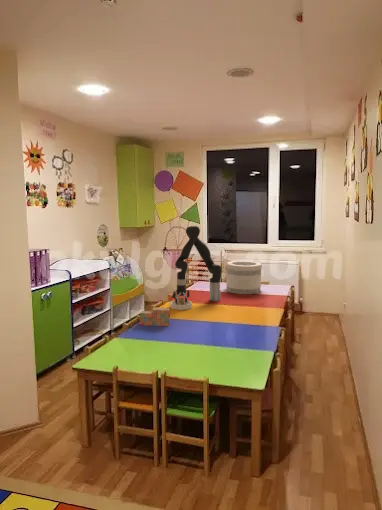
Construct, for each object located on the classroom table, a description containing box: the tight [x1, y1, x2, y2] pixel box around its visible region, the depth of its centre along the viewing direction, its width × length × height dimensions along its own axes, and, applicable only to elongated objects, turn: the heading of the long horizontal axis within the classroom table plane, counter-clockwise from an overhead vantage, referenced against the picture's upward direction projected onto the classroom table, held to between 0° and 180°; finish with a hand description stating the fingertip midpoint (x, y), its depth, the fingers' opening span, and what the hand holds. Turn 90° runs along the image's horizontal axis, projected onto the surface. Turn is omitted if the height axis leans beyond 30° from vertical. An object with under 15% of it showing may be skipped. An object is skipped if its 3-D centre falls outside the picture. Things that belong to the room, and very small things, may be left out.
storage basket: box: [225, 260, 263, 295], centre depth 423 cm, size 35×35×27 cm
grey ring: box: [169, 299, 193, 311], centre depth 357 cm, size 18×18×4 cm
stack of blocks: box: [139, 307, 171, 327], centre depth 309 cm, size 21×6×12 cm, turn 85°
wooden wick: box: [177, 296, 185, 305], centre depth 357 cm, size 4×4×7 cm
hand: (181, 302), depth 357 cm, fingers open, 8 cm apart
